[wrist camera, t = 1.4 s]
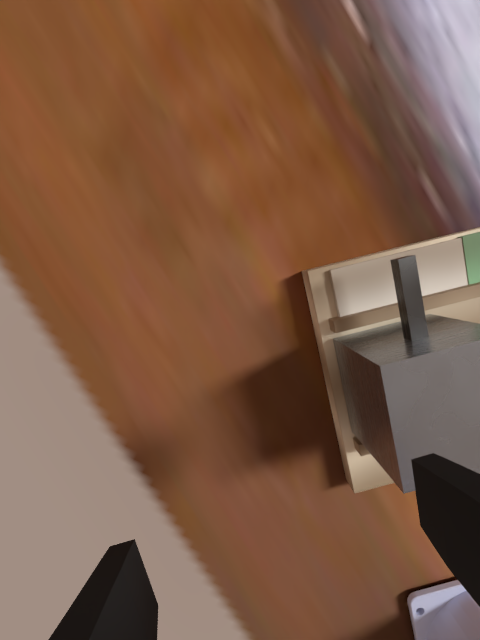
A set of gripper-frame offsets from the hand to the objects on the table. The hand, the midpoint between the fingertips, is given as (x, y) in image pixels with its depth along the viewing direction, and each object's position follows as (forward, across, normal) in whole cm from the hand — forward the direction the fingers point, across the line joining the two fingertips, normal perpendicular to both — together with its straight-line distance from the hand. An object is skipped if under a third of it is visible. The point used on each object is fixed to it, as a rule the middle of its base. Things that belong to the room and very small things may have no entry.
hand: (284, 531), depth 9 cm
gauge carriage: (+8, -7, -1) cm, 11 cm away
